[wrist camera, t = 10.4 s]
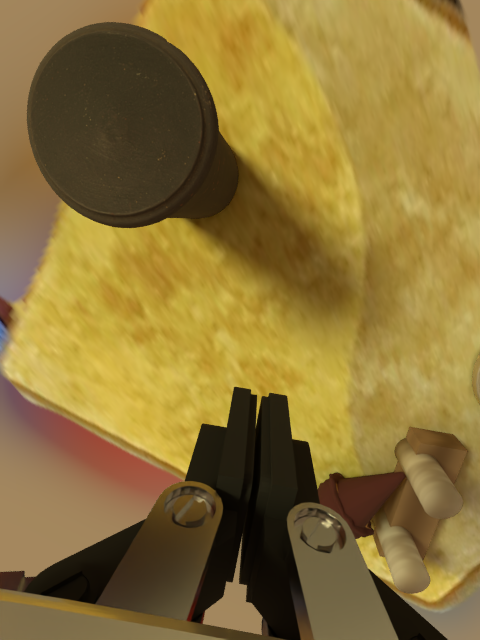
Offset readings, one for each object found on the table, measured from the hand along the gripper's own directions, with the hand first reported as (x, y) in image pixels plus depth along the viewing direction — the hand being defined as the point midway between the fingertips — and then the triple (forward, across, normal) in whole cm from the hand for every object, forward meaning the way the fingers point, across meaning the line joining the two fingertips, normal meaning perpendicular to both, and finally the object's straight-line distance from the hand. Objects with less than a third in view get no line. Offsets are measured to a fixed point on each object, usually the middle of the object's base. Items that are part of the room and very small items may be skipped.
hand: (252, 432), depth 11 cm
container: (+27, +8, -9) cm, 30 cm away
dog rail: (+27, -22, +22) cm, 41 cm away
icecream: (+27, -14, +23) cm, 39 cm away
